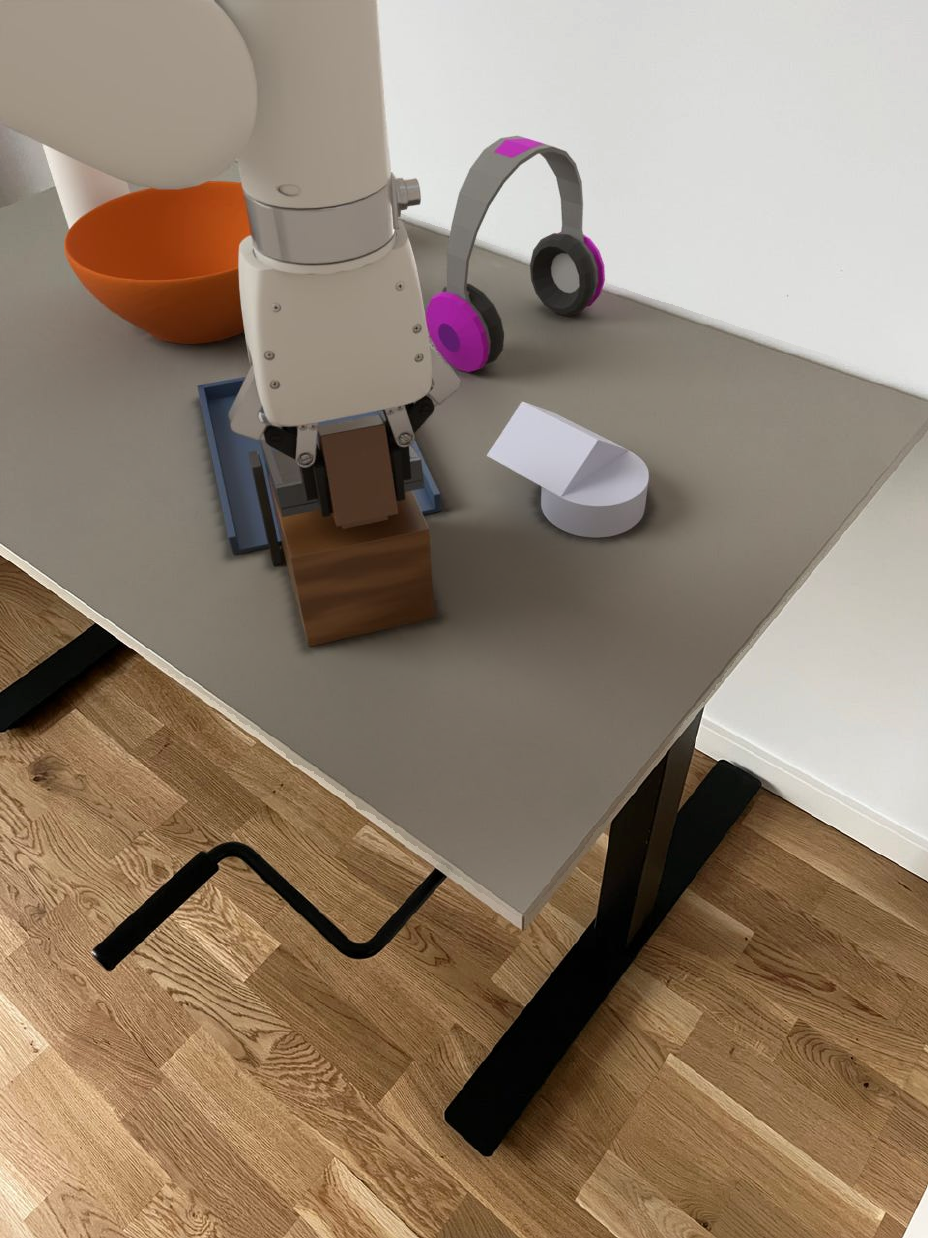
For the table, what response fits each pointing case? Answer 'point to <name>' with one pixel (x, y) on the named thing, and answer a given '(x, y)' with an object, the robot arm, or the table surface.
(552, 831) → the table surface
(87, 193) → the bottle
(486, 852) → the table surface
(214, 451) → the tray
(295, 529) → the stand
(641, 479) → the wedge on round base
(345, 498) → the dark piece
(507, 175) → the headphones
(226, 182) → the bowl
